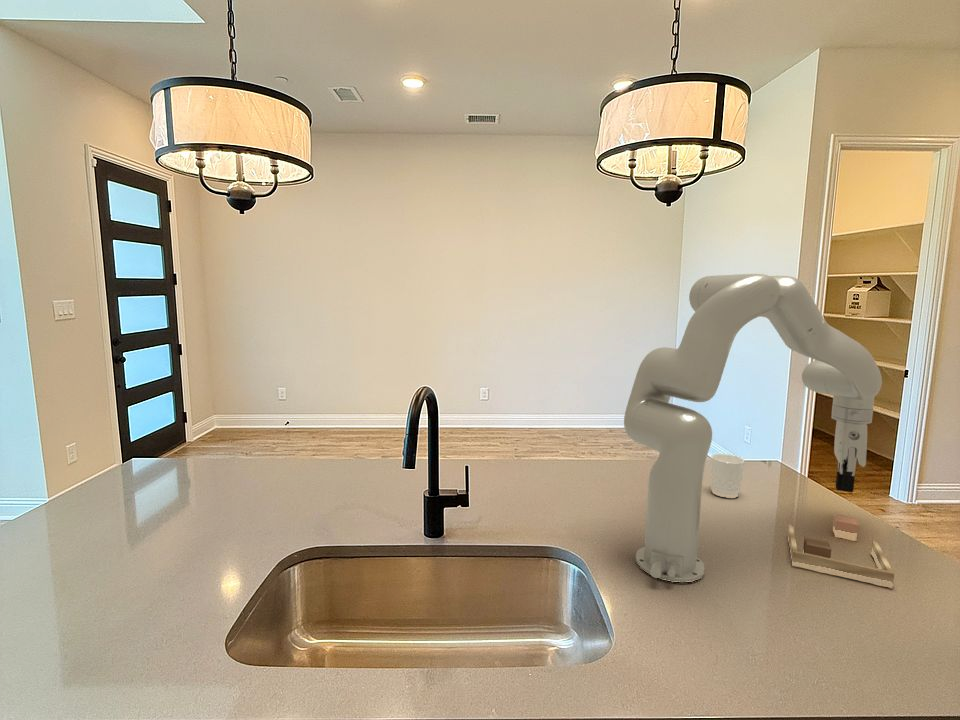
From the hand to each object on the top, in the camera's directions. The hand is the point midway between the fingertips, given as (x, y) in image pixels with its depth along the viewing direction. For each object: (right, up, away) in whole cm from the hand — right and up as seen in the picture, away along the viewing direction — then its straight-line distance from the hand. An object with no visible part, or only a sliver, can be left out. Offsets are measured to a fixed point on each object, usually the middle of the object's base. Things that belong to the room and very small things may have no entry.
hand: (844, 489), depth 117 cm
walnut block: (-18, -10, -17) cm, 26 cm away
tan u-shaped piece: (-14, -10, -16) cm, 24 cm away
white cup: (-20, -6, +17) cm, 27 cm away
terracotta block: (-4, -9, -6) cm, 11 cm away
